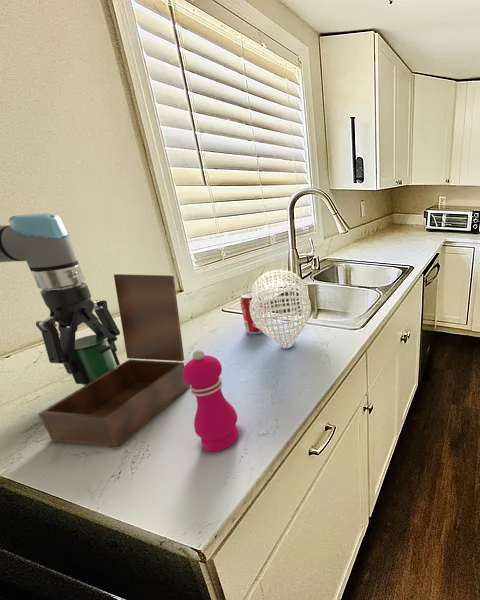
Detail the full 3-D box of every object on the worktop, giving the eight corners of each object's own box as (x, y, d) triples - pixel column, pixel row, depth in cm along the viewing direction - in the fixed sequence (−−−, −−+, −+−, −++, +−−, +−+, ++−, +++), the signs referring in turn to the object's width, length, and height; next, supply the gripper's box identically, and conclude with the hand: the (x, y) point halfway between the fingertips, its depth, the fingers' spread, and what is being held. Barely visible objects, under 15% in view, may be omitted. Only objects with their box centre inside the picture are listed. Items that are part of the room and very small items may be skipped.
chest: (118, 447, 63) (106, 418, 60) (52, 441, 64) (37, 413, 62) (190, 385, 81) (183, 362, 78) (137, 382, 82) (129, 359, 80)
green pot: (66, 385, 78) (49, 348, 74) (97, 367, 85) (83, 333, 81) (104, 387, 77) (89, 350, 73) (132, 369, 84) (120, 334, 80)
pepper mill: (219, 458, 60) (193, 365, 53) (191, 448, 62) (162, 357, 55) (249, 431, 66) (229, 344, 59) (222, 422, 68) (200, 338, 61)
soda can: (255, 337, 105) (247, 299, 100) (241, 331, 109) (234, 295, 104) (273, 328, 111) (267, 293, 106) (260, 324, 114) (254, 289, 110)
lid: (171, 275, 74) (173, 275, 75) (113, 274, 75) (116, 274, 76) (181, 361, 78) (184, 360, 79) (127, 358, 79) (130, 357, 80)
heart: (261, 331, 109) (249, 267, 101) (308, 324, 114) (301, 262, 106) (258, 377, 84) (243, 296, 76) (319, 365, 89) (310, 288, 81)
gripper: (24, 302, 62) (69, 400, 71) (119, 273, 81) (146, 353, 89) (-10, 301, 63) (39, 398, 71) (93, 272, 82) (122, 352, 90)
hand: (99, 373), depth 80 cm, fingers closed on green pot, 7 cm apart
